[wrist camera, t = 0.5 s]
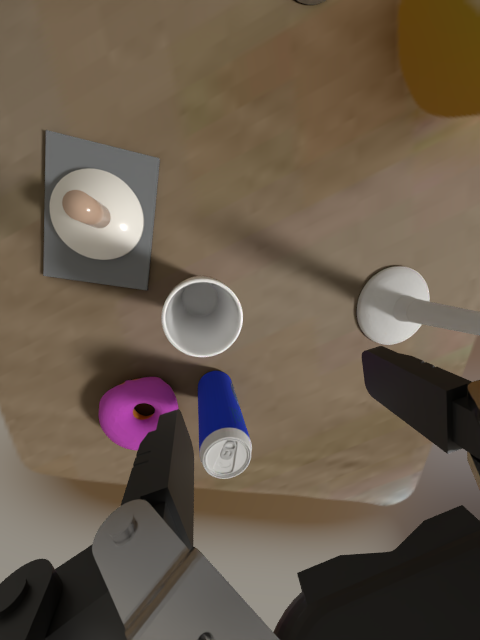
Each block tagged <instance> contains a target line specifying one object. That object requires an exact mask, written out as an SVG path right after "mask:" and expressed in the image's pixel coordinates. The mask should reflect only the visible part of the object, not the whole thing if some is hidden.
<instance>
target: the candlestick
mask: <svg viewBox="0 0 480 640" xmlns="http://www.w3.org/2000/svg"><path fill="white" fill-rule="evenodd" d="M429 299H430V298H429V290H428V287H427V284H426V282H425V280H424V279H423V277H422V276H421V275H420V274H419V273H418V272H417V271H415V270H413V269H411V268H408V267H403V266H394V267H389V268H386V269H383V270H381V271H380V272H378V273H377V274H375V275H374V276H373V277H372V278H371V279H370V280H369V281H368V282H367V283H366V285H365V286H364V288H363V290H362V292H361V294H360V296H359V300H358V304H357V319H358V323H359V326H360V328H361V330H362V332H363V333H364V334H365V335H366V336H367V337H368V338H369V339H371V340H372V341H374V342H377V343H380V344H386V345H391V344H396V343H400V342H402V341H404V340H406V339H408V338H409V337H410V336H412V335H413V334H414V333H415V332H416V331H417V330H418V329H419V327H420V326H421V325H422V324H424V325H429V326H434V327H439V328H444V329H449V330H454V331H459V332H465V333H470V334H475V335H480V312H477V311H473V310H468V309H463V308H458V307H453V306H448V305H443V304H439V303H434V302H429Z"/></svg>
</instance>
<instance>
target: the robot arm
mask: <svg viewBox="0 0 480 640" xmlns="http://www.w3.org/2000/svg"><path fill="white" fill-rule="evenodd" d="M297 1H298V2H300V3H304V4H307V5H315V4H319V3H322V2H324V1H325V0H297ZM362 363H363V372H364V380H365V386H366V388H367V390H368V392H369V394H370V395H371V396H372V397H373V398H374V399H376V400H377V401H378V402H379V403H381V404H382V405H383V406H385V407H386V408H387V409H389V410H390V411H391V412H393V413H394V414H395V415H397V416H398V417H399V418H401V419H402V420H403V421H405V422H406V423H407V424H409V425H410V426H411V427H413V428H414V429H415V430H417V431H418V432H419V433H421V434H422V435H423V436H425V437H426V438H427V439H429V440H430V441H431V442H433V443H434V444H435V445H437V446H438V447H439V448H441V449H442V450H443V451H444V452H446V453H447V454H449V453H451V452H454V451H457V450H459V449H462V448H463V449H465V450H466V451H467V456H468V457H467V459H468V463H469V465H470V468H471V470H472V472H473V475H474V477H475V480H476V482H477V485H478V487H479V490H480V380H476V381H473V382H471V381H469V380H467V379H464V378H462V377H460V376H457V375H455V374H453V373H450V372H448V371H446V370H443V369H441V368H439V367H434V365H432V364H429V363H427V362H426V363H425V362H424V361H422V360H420V359H418V358H415V357H413V356H409V355H404V354H399V353H397V352H394V351H392V350H390V349H387V348H385V347H383V346H379V347H376V348H372V349H369V350H366V351H364V352H363V353H362ZM136 456H137V457H136V458H135V461H134V464H133V466H134V467H133V468H132V471H131V474H130V477H129V481H128V484H127V487H126V490H125V493H124V497H123V500H122V503H121V506H120V507H119V508H117V509H116V510H115V511H114V512H112V513H111V514H110V515H109V516H108V518H106V520H105V521H104V522H103V523H102V525H101V526H100V528H99V529H98V531H97V533H96V535H95V538H94V541H93V544H92V545H91V546H89V547H88V548H87V549H85V550H84V551H82V552H81V553H79V554H78V555H76V556H74V557H73V558H71V559H70V560H68V561H67V562H66V563H64V564H62V565H61V566H59V567H58V568H56V569H54V567H53V566H52V564H51V563H50V562H49V561H48V560H46V559H37V560H34V561H31V562H29V563H27V564H25V565H24V566H22V567H20V568H19V569H17V570H16V571H15V572H14V573H12V574H11V575H10V576H8V577H7V578H6V579H5V580H4V581H3V582H2V583H1V584H0V640H480V520H478V519H477V518H476V517H475V516H474V515H472V514H471V513H470V512H469V511H468V510H467V509H466V508H465V507H464V506H462V505H461V506H459V507H456V508H454V509H452V510H449V511H447V512H444V513H442V514H439V515H437V516H434V517H432V518H430V519H427V520H425V521H423V523H422V524H420V526H418V527H417V528H416V529H415V530H414V531H413V532H412V533H411V534H410V535H409V536H408V537H407V538H406V539H405V540H404V541H403V542H402V543H401V544H400V545H399V546H398V547H397V548H396V549H395V550H393V551H391V552H383V553H368V554H354V555H340V556H338V557H335V558H333V559H330V560H328V561H326V562H323V563H321V564H318V565H316V566H313V567H311V568H309V569H306V570H304V571H301V572H299V573H297V574H298V578H299V582H300V585H301V589H302V592H301V593H300V594H299V595H298V596H297V597H296V598H295V599H294V600H293V602H292V603H291V604H290V605H289V606H288V608H287V609H286V610H285V612H284V613H283V615H282V617H281V619H280V620H279V622H278V624H277V626H276V628H275V630H274V632H272V630H271V629H270V628H269V627H268V626H267V625H266V624H265V623H264V622H263V621H262V619H261V618H260V617H259V616H258V615H257V614H256V613H255V612H254V611H253V609H252V608H251V607H250V606H249V605H248V604H247V603H246V602H245V601H244V600H243V598H242V597H241V596H240V595H239V594H238V593H237V592H236V591H235V589H234V588H233V587H232V586H231V585H230V584H229V583H228V582H227V581H226V580H225V578H224V577H223V576H222V575H221V574H220V573H219V572H218V571H217V569H216V568H215V567H214V566H213V565H212V564H211V563H210V562H209V561H208V560H207V558H206V557H205V556H204V555H203V554H202V553H201V552H200V551H199V550H198V549H197V548H195V547H193V515H194V514H193V513H194V509H193V508H194V503H193V502H194V452H193V446H192V442H191V439H190V436H189V433H188V431H187V428H186V425H185V422H184V419H183V416H182V414H181V411H180V410H179V409H177V410H174V411H171V412H168V413H164V414H161V415H160V416H159V419H158V423H157V427H156V430H154V431H151V432H148V434H147V435H146V436H145V438H144V439H143V440H142V442H141V443H140V445H139V448H138V452H137V455H136Z"/></svg>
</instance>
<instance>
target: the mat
mask: <svg viewBox="0 0 480 640" xmlns="http://www.w3.org/2000/svg"><path fill="white" fill-rule="evenodd" d="M159 163H160V160H159V158H156V157H152V156H148V155H144V154H140V153H136V152H132V151H128V150H124V149H120V148H116V147H112V146H108V145H104V144H100V143H96V142H92V141H88V140H84V139H80V138H76V137H72V136H68V135H64V134H60V133H56V132H52V131H48V130H46V152H45V213H44V273H43V276H49V277H56V278H63V279H70V280H77V281H84V282H91V283H98V284H105V285H113V286H120V287H127V288H134V289H141V290H148V280H149V269H150V258H151V248H152V237H153V227H154V216H155V205H156V195H157V184H158V174H159ZM87 168H90V169H99V170H103V171H106V172H109V173H111V174H113V175H115V176H117V177H118V178H120V179H121V180H122V181H124V182H125V183H126V184H127V185H128V186H129V187H130V189H131V190H132V191H133V192H134V193H135V195H136V196H137V198H138V200H139V202H140V204H141V207H142V209H143V214H144V231H143V234H142V237H141V239H140V241H139V243H138V244H137V246H136V247H135V248H134V249H133V250H132V251H131V252H130V253H128V254H126V255H125V256H122V257H120V258H117V259H111V260H100V259H93V258H89V257H86V256H83V255H81V254H79V253H77V252H76V251H74V250H72V249H71V248H70V247H69V246H67V245H66V244H65V243H64V242H63V240H62V239H61V238H60V237H59V235H58V234H57V232H56V230H55V228H54V226H53V224H52V221H51V216H50V207H49V206H50V199H51V194H52V192H53V190H54V188H55V186H56V185H57V183H58V182H59V181H60V180H61V179H62V178H63V177H64V176H66V175H67V174H69V173H71V172H73V171H76V170H80V169H87Z"/></svg>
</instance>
